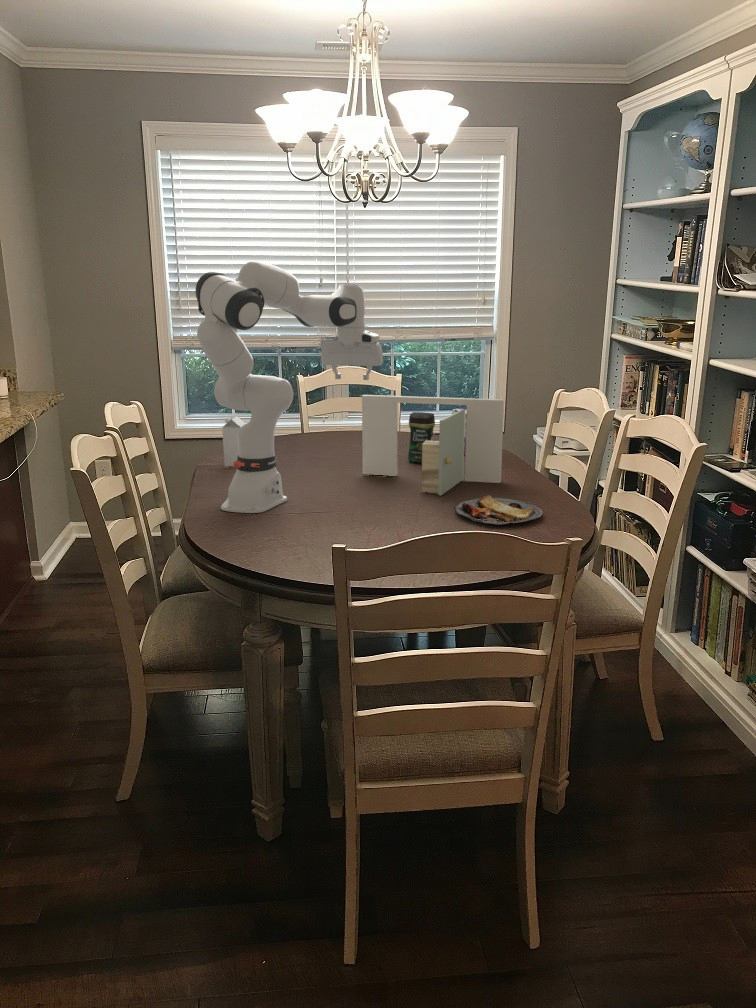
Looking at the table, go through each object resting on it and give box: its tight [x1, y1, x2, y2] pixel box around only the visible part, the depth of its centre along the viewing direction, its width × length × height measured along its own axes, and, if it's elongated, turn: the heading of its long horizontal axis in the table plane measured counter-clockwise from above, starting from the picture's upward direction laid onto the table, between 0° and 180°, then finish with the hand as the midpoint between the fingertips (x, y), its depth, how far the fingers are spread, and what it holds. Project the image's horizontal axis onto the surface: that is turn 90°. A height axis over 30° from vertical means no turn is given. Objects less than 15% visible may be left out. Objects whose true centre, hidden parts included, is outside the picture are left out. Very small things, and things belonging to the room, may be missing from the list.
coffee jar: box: [407, 411, 436, 464], centre depth 300 cm, size 10×8×19 cm
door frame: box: [361, 394, 505, 484], centre depth 274 cm, size 2×48×28 cm, turn 76°
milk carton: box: [221, 412, 247, 467], centre depth 295 cm, size 7×7×19 cm
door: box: [437, 408, 466, 496], centre depth 262 cm, size 3×22×24 cm, turn 156°
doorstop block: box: [421, 440, 439, 494], centre depth 261 cm, size 6×6×16 cm
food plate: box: [454, 494, 543, 525], centre depth 236 cm, size 25×23×4 cm
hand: (352, 379), depth 262 cm, fingers open, 8 cm apart
